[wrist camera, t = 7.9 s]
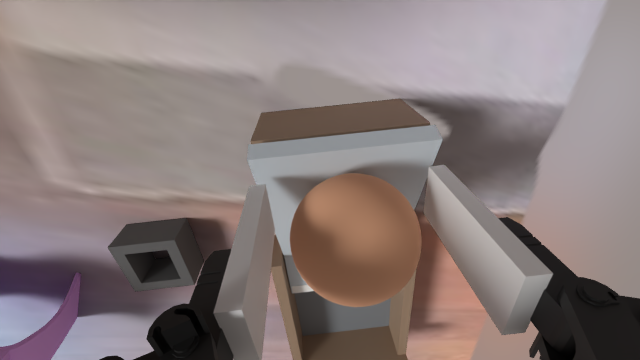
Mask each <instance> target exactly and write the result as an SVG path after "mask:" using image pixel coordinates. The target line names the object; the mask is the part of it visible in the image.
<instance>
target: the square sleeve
mask: <svg viewBox="0 0 640 360" xmlns="http://www.w3.org/2000/svg"><path fill="white" fill-rule="evenodd" d="M108 249H109V251H110V252H111V254H112V255H113V257H114V259H115V260H116V262H117V263H118V265H119V267H120V268H121V270H122V271H123V273H124V275H125V276H126V278H127V279H128V281H129V283H130V284H131V286H132V287H133V289H134V290H135V291H144V290H153V289H161V288H170V287H179V286H188V285H195V283H196V280H197V277H198V275H199V272H200V270H201V267H202V264H203V262H204V260H203V257H202V255H201V252H200V250H199V247H198V245H197V242H196V240H195V238H194V235H193V233H192V230H191V228H190V225H189V223H188V220H187V218H182V219H173V220H164V221H155V222H145V223H136V224H127V225H126V226H125V227H124V228H123V229H122V231H121V232H120V233H119V234H118V236H117V237H116V238H115V239H114V240H113V242H112V243H111V244H110V245H109V246H108ZM161 250H167V251H168V253H169V255H170V257H169V258H160V259H155V257H154V255H153V253H152V251H161Z"/></svg>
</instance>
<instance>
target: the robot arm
mask: <svg viewBox="0 0 640 360" xmlns="http://www.w3.org/2000/svg"><path fill="white" fill-rule="evenodd" d="M423 213H424V215H425V216H426V218H427V219H428V221H429V223H430V224H431V226H432V227H433V229H434V230H435V232H436V233H437V235H438V237H439V238H440V240H441V241H442V243H443V244H444V246H445V247H446V249H447V251H448V252H449V254H450V255H451V257H452V258H453V260H454V261H455V263H456V265H457V266H458V268H459V269H460V271H461V272H462V274H463V275H464V277H465V278H466V280H467V282H468V283H469V285H470V286H471V288H472V289H473V291H474V292H475V294H476V296H477V297H478V299H479V300H480V302H481V303H482V305H483V306H484V308H485V310H486V311H487V313H488V314H489V316H490V317H491V319H492V320H493V322H494V324H495V325H496V327H497V328H498V330H499V331H500V333H501V334H502V335H506V334H516V333H524V332H526V329H527V327H528V325H529V323H530V321H531V322H532V323H533V324H534V326H535V327H536V328H537V329H538V331H539V333H538V335H537V337H536V339H535V340H534V342H533V344H532V346H531V348H530V350H529V352H530V357H532V358H534V356H535V355H536V353H537V351H538V349H539V352H540V355H541V356H540V359H541V360H640V299H639V298H632V297H625V296H619V295H618V294H617V293H616V292H615V291H613V290H612V289H610V288H609V287H607V286H606V285H603V284H601V283H599V282H597V281H595V280H591V279H587V278H583V277H577V276H576V275H575V274H574V273H573V272H572V271H571V270H570V269H569V268H568V267H567V266H565V265H564V264H563V263H562V262H561V261H560V260H559V259H558V258H557V257H556V256H555V255H554V254H552V252H550V251H549V250H548V249H547V248H546V247H545V246H544V245H541V242H540V241H539V240H537V239H536V238H535V237H533V236H532V234H531V233H530V232H529V231H527V229H525V227H523V226H522V225H521V224H519V223H517V222H515V221H514V220H512V219H510V218H508V217H506V218H497V217H496V216H495V215H494V214H493V213H492V212H491V211H490V210H489V209H488V208H487V207H486V206H485V205H484V204H483V203H482V202H481V201H480V200H479V199H478V198H477V197H476V196H475V195H474V194H473V193H472V192H471V191H470V190H469V189H468V188H467V187H466V186H465V185H464V184H463V183H462V182H461V181H460V180H459V179H458V178H457V177H456V176H455V175H454V174H453V173H452V172H451V171H450V170H449V169H448V168H447V167H446V166H445V165H438V166H429V169H428V178H427V186H426V194H425V202H424V210H423ZM274 235H275V226H274V222H273V217H272V212H271V207H270V203H269V198H268V193H267V189H266V184H263V185H254V186H249V189H248V193H247V196H246V200H245V203H244V207H243V210H242V214H241V217H240V221H239V225H238V228H237V232H236V235H235V239H234V242H233V246H232V249H228V250H219V251H214V252H213V253H212V254H211V255H210V256H209V258H208V259H207V260H206V261H205V263H204V266H203V268H202V271H201V276H199V279H198V282H197V286H196V287H195V290H194V292H193V295H192V297H191V300H190V303H189V304H181V305H177V306H174V307H172V308H170V309H168V310H167V311H165V312H163V313H162V314H161V315H160V316H159V317H158V318H157V319H156V320H155V321H154V323H153V324H152V326H151V327H150V329H149V331H148V335H147V340H148V342H149V343H150V345H151V346H152V348H153V349H154V351H153V352H150V353H148V354H146V355H143V356H141V357H138V358H136V359H134V360H233V359H234V360H262V350H263V340H264V331H265V321H266V312H267V302H268V293H269V283H270V273H271V264H272V254H273V245H274ZM100 360H124V359H123V358H121V357H119V356H107V357H104V358H102V359H100Z"/></svg>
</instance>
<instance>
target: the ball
mask: <svg viewBox="0 0 640 360" xmlns="http://www.w3.org/2000/svg"><path fill="white" fill-rule="evenodd" d="M290 247H291V253H292V257H293V261H294V263H295V266H296V268H297V270H298V272H299V273H300V275H301V277H302V278H303V280H304V281H305V282H306V283H307V285H308V286H309V287H311V288H312V289H313V290H314V291H315V292H316V293H317V294H319V295H320V296H322V297H323V298H325V299H327V300H329V301H331V302H333V303H336V304H339V305H343V306H349V307H365V306H371V305H376V304H379V303H381V302H384V301H386V300H388V299H390V298H391V297H393V296H394V295H396V294H397V293H398V292H400V291H401V290H402V289H403V288H404V287H405V285H406V284H407V283H408V282H409V280H410V279H411V278H412V276H413V274H414V272H415V270H416V268H417V265H418V262H419V259H420V254H421V248H422V236H421V229H420V225H419V221H418V218H417V216H416V213H415V211H414V209H413V208H412V206H411V204H410V203H409V201H408V200H407V199H406V198H405V196H404V195H403V194H402V193H401V192H400V191H399V190H398V189H396V188H395V187H394V186H392V185H391V184H389V183H388V182H386V181H384V180H382V179H380V178H377V177H374V176H371V175H366V174H359V173H349V174H341V175H337V176H334V177H331V178H329V179H327V180H325V181H323V182H321V183H319V184H318V185H316V186H315V187H314V188H313V189H312V190H311V191H309V192H308V193H307V195H306V196H305V197H304V198H303V200H302V201H301V202H300V204H299V206H298V208H297V209H296V212H295V214H294V217H293V220H292V224H291V230H290Z"/></svg>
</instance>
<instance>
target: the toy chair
mask: <svg viewBox="0 0 640 360" xmlns="http://www.w3.org/2000/svg"><path fill="white" fill-rule="evenodd" d="M80 278H81V273H77V272H76V274H75V276H74V279H73V281H72V284H71V286H70V289H69V291H68V294H67V296H66V298H65V300H64V302H63V304H62V305H61V307H60V309H59V310H58V312H57V313H56V314H55V316H54V317H53V318H52V319H51V320H50V321H49V322H48V323H47V324H46V325H45V326H43V327H42V328H41V329H39V330H38V331H37V332H35V333H33V334H32V335H30V336H29V337H27V338H26V339H24V340H22V341H20V342H18V343H16V344H14V345H10V346H5V347H0V360H51V358H52V357H53V355H54V354H55V352H56V351H57V349H58V348H59V346H60V345H61V343H62V342H63V340H64V339H65V337H66V335H67V334H68V332H69V330H70V329H71V327H72V325H73V324H74V322H75V320H76V319H77V316H78V304H79V291H80Z"/></svg>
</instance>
